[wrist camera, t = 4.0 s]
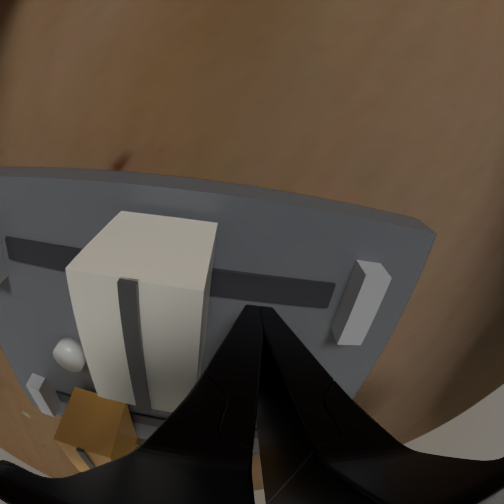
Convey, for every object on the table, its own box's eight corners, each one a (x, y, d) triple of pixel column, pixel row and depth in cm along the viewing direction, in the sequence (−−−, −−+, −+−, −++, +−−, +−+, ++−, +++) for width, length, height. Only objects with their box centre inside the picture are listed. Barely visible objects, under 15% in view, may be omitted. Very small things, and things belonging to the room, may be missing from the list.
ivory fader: (217, 223, 9) (202, 295, 6) (205, 337, 11) (194, 419, 8) (121, 210, 8) (62, 272, 5) (127, 324, 10) (96, 400, 7)
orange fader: (126, 400, 13) (109, 460, 10) (137, 438, 15) (126, 487, 12) (75, 386, 13) (52, 441, 9) (93, 427, 15) (79, 473, 11)
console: (417, 218, 11) (451, 245, 9) (311, 434, 18) (316, 464, 16) (-24, 167, 9) (-59, 183, 7) (39, 389, 16) (27, 414, 14)
